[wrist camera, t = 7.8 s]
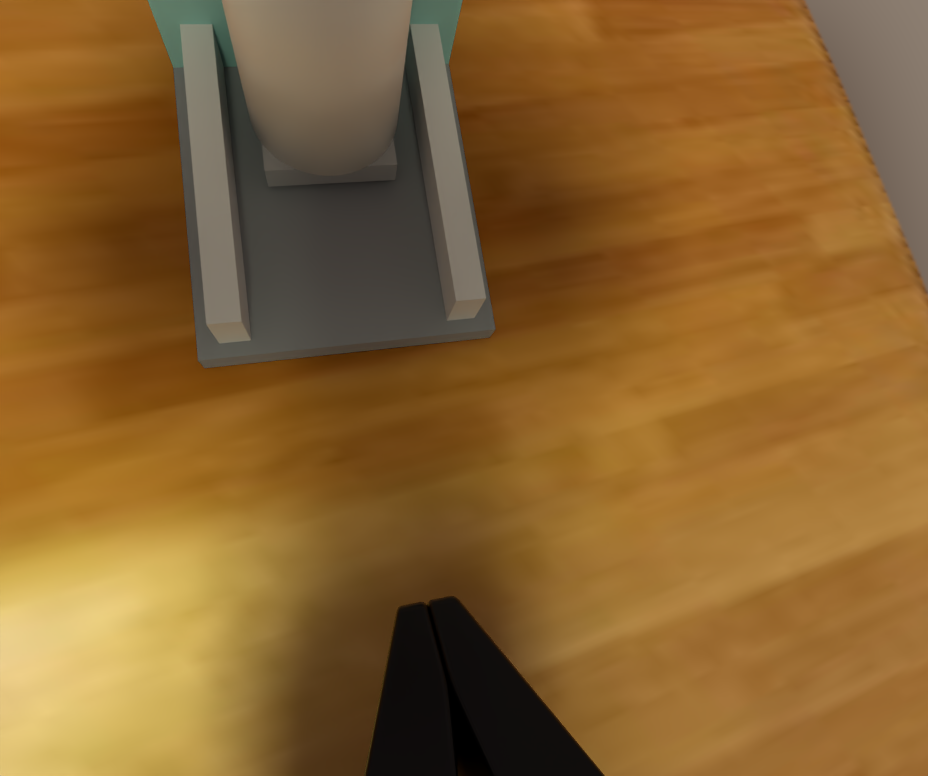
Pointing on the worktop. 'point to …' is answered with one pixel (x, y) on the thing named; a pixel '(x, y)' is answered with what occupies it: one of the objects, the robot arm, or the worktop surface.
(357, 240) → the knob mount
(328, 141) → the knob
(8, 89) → the worktop surface
